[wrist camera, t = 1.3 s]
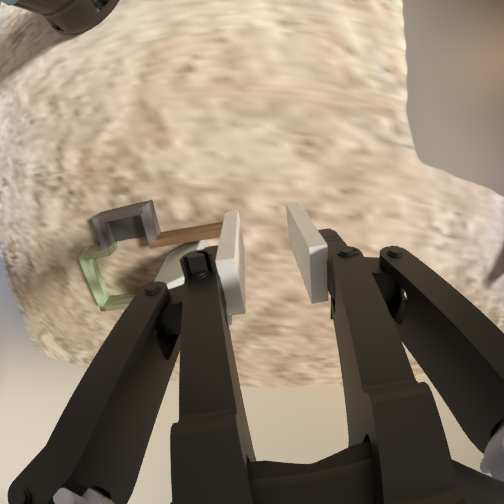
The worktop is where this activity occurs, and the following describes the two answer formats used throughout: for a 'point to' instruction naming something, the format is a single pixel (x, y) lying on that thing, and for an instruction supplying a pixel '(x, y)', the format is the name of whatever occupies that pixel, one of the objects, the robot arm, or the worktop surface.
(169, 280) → the supplement box
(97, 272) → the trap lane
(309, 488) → the robot arm
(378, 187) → the worktop surface
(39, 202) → the worktop surface
